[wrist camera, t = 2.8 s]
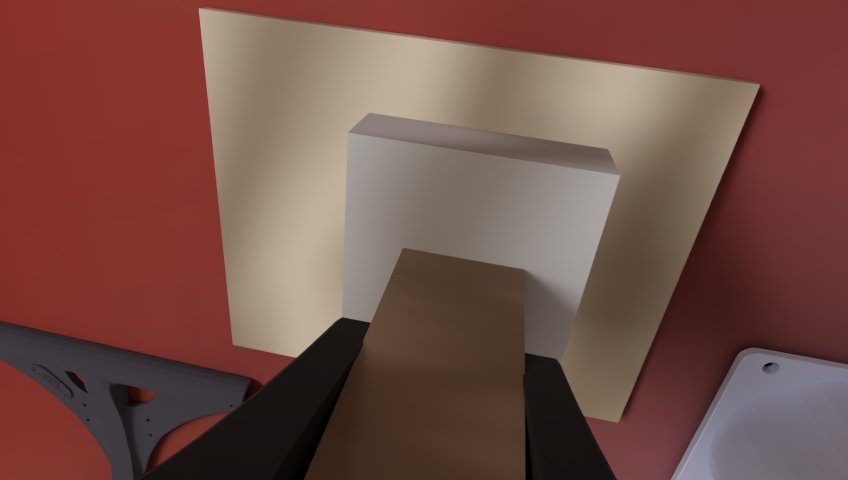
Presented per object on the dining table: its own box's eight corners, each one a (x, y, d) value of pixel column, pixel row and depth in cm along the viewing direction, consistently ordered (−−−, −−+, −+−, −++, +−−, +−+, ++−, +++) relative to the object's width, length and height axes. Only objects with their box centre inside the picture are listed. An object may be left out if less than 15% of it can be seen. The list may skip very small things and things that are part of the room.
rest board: (752, 81, 14) (759, 84, 13) (616, 413, 20) (618, 422, 20) (207, 7, 15) (199, 8, 15) (238, 337, 22) (232, 344, 21)
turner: (607, 148, 10) (792, 536, 3) (534, 395, 14) (547, 839, 7) (369, 112, 11) (82, 381, 4) (356, 359, 14) (195, 737, 7)
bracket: (50, 493, 32) (11, 537, 29) (-22, 305, 24) (-82, 342, 22) (267, 546, 31) (246, 596, 28) (259, 366, 23) (229, 412, 21)
